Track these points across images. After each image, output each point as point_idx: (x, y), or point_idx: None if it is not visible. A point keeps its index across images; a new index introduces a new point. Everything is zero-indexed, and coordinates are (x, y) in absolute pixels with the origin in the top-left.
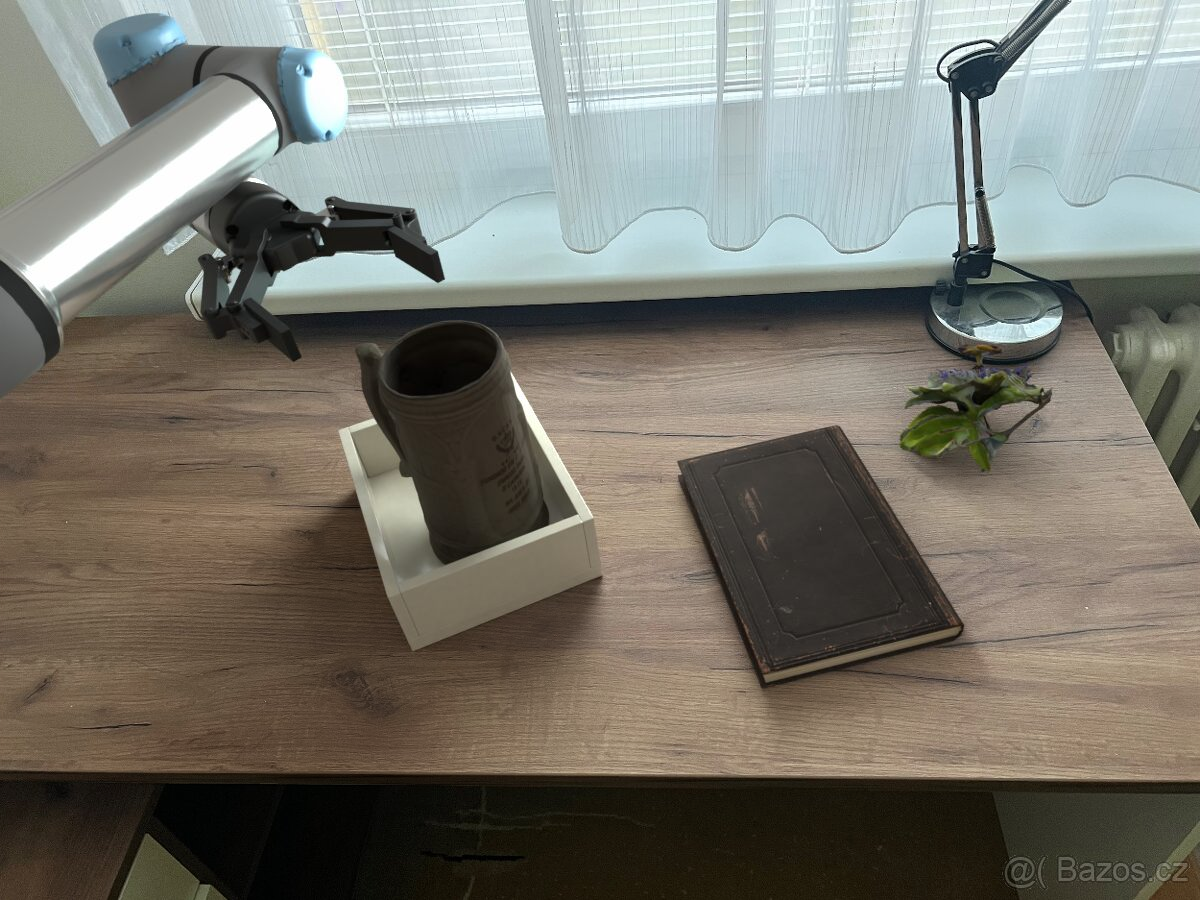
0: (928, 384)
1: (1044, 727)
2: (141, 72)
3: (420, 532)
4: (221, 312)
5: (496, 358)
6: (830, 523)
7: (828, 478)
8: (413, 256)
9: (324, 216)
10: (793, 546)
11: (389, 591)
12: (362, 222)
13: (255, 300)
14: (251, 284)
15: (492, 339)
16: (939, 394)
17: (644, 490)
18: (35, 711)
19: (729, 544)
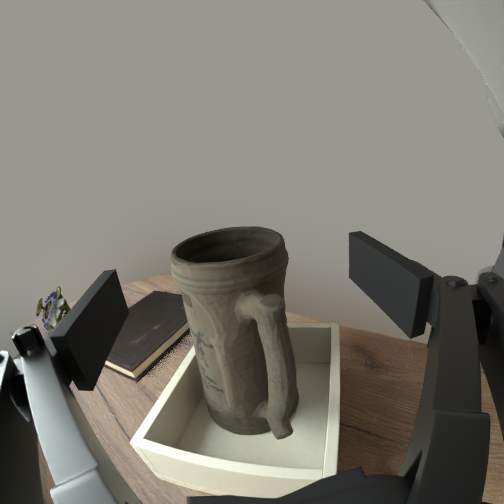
0: (53, 321)
1: (170, 283)
2: None
3: (300, 421)
4: (473, 292)
5: (197, 235)
6: (134, 320)
7: None
8: (104, 318)
9: (54, 493)
10: (153, 320)
11: (336, 324)
12: (42, 400)
13: (430, 358)
14: (437, 337)
15: (178, 252)
16: (61, 311)
17: (155, 387)
18: None
19: (167, 330)
